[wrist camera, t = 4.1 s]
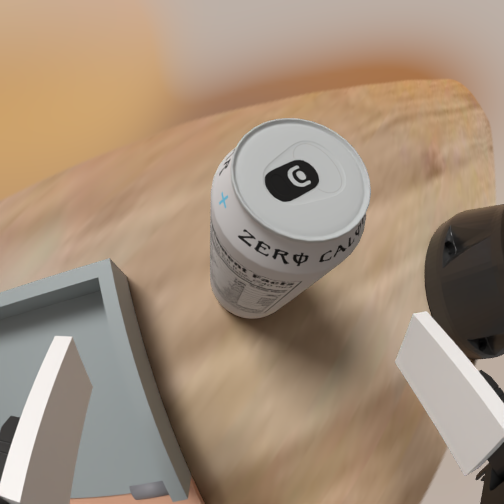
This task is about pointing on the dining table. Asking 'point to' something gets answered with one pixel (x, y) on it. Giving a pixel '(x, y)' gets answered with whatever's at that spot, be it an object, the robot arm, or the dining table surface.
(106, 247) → the dining table surface
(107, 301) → the hinged lid tray
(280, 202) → the energy drink can
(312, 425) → the dining table surface
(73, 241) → the dining table surface
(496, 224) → the robot arm
